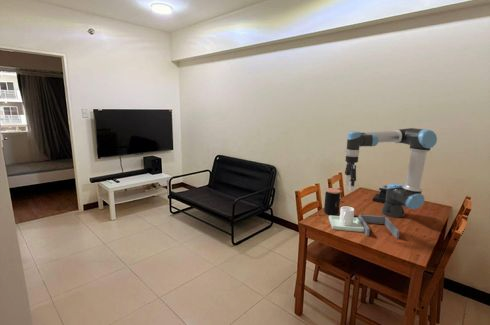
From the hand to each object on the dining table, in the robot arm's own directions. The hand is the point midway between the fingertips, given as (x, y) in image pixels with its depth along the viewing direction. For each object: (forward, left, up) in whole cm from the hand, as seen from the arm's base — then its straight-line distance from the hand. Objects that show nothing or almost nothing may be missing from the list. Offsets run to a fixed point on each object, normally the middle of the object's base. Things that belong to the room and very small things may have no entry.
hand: (349, 187), depth 172 cm
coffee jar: (+6, -20, -27) cm, 34 cm away
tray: (0, 0, -26) cm, 26 cm away
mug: (0, +1, -26) cm, 26 cm away
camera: (-44, -56, -27) cm, 76 cm away
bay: (-19, +3, -26) cm, 33 cm away
